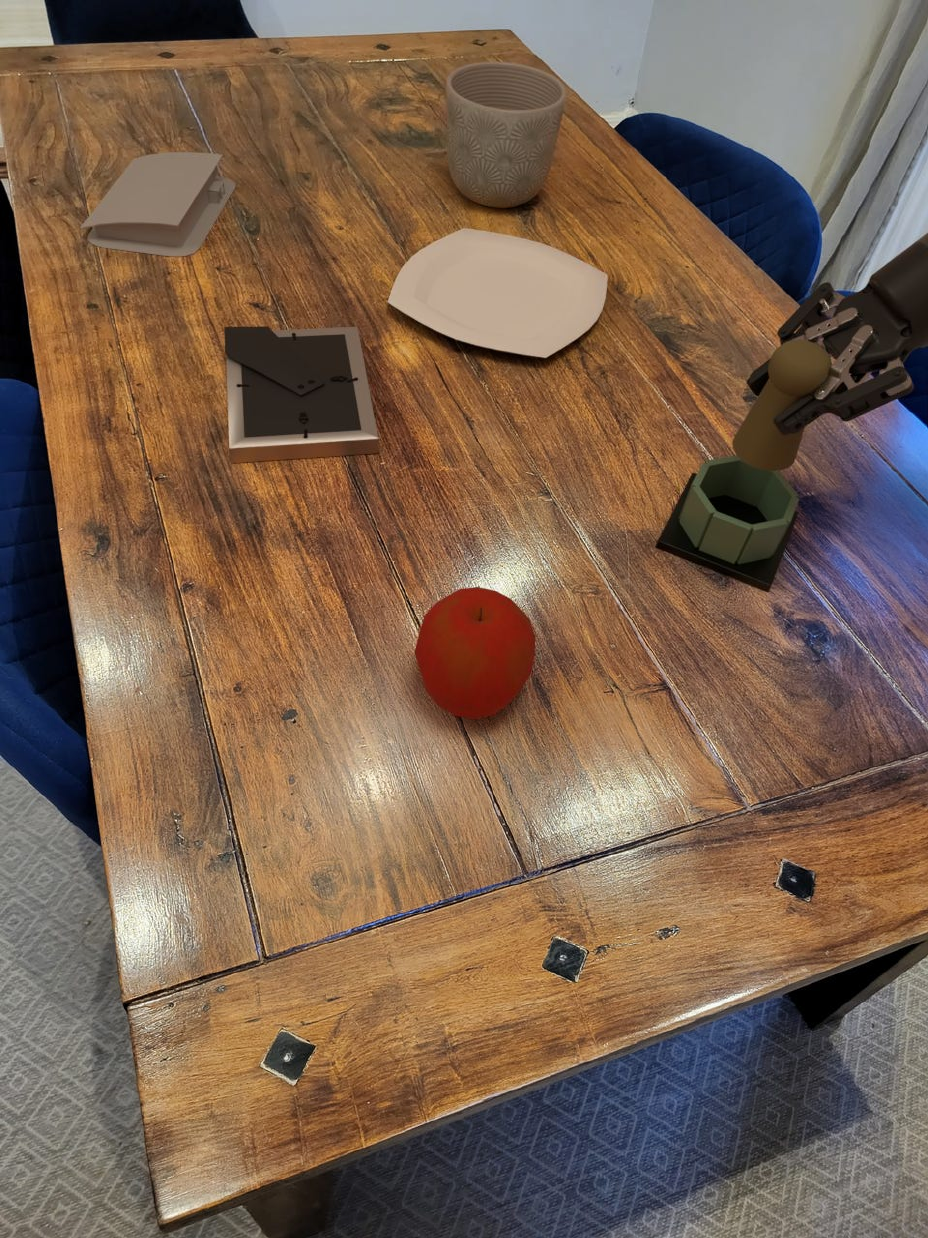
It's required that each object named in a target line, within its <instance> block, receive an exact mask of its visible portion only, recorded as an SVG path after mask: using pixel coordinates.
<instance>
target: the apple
mask: <svg viewBox="0 0 928 1238" xmlns="http://www.w3.org/2000/svg"><path fill="white" fill-rule="evenodd" d="M414 648H415V649H414V651H413V653H414V656H415V659H416V663H417V667H418V669H419V673H420V677H421V680H422V683H423V687H424V689H425V692H426V694H427V695H428V696H429V697H430V698H431V699H432V701H433V702H434V703H435V704H436V705H437V707H439V708H440V709H442V710H444V711H446V712H447V713H449V714H451V715H452V716H454V717H458V718H464V719H469V720H478V719H482V718H486V717H490V716H494V715H495V714H497V713H499V712H500V711H501V710H503V709H504V708H506V707H507V706H508V705H509V704H511V702H512V701H513V700H514V699H515V697H516V696H517V695H518V694H519V693H520V691H521V690H522V688H523V687H524V686H525V684H526V682H527V681H528V680H529V678H530V676H531V675H532V671H533V665H534V661H535V656H536V635H535V631H534V628H533V625H532V623H531V620H530V618H529V617H528V615H526V613H525V612H524V611H523V610H522V609H521V608H520V607H519V605H517V604H516V603H515V602H514V600H513V599H512V598H510V597H509V596H506V595H505V594H503V593H500V592H499V591H497V590H494V589H489V588H484V587H479V586H475V587H465V588H464V587H463V588H459V589H458V590H455V591H454V592H452V593H449V595H447V596H445V597H443V598H442V599H440V600H438V601H436V602H435V604H433V606H432V607H431V608H430V609H429V610H428V611H427V612H426V613H425V614H424V615H423V618H422V622H421V625H420V629H419V632H418V636H417V640H416V645H415V647H414Z"/></svg>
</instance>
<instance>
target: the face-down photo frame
mask: <svg viewBox="0 0 928 1238" xmlns="http://www.w3.org/2000/svg"><path fill="white" fill-rule="evenodd" d="M223 328H224V353H225V365H226V366H225V368H226V369H225V370H226V396H227V397H226V398H227V400H226V401H227V427H228V428H227V429H228V450H229V456H230V461H231V464H242V463H255V462H257V463H259V462H271V461H272V462H273V461H285V460H299V459H301V460H303V459H314V458H315V459H317V458H331V457H344V456H345V457H346V456H358V455H359V456H361V455H373V454H380V443H379V441H380V438H379V433H378V428H377V421H376V417H375V411H374V406H373V403H372V402H373V401H372V396H371V390H370V385H369V379H368V375H367V368H366V364H365V358H364V353H363V348H362V343H361V337H360V332H359V326H342V327H341V326H340V327H339V326H337V327H318V328H315V327H314V328H299V329H298V328H296V329H295V328H294V329H292V328H291V329H274V330H273V329H271V328H270V327H269V326H267V325H265V326H263V325H259V326H258V325H257V326H255V325H254V326H224V327H223Z"/></svg>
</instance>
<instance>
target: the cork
mask: <svg viewBox="0 0 928 1238" xmlns="http://www.w3.org/2000/svg"><path fill="white" fill-rule="evenodd" d="M770 358H771V359H770ZM770 358H769V359H770V362H769V366H768V373H769V377H770V378H769V379H768V381H767V383H766V384H765V386H764V388H763V389H762V391H761V393H760V394H759V396H757V398H756V400H755V401H754V403H753V405H752V406H751V408H750V409H749V411H748V413H747V414H746V416H745V418H744V420H743V421H742V423H741V425H740V426H739V428H738V430H737V431H736V433H735V435H734V436H733V439H732V440H731V441H732V442H731V445H732V450H733V452H734V453H735V455H737V456H738V457H739V458H740V459H741V460H742V461H743V462H745V463H747V464H748V465H750V466H752V467H755V468H758V469H760V470H766V471H780V472H782V471H784V470H786V469H788V468H790V467H791V466H792V465H793V464H794V463H795V460H796V458H797V455H798V451H799V448H800V445H801V442H802V438H803V435H804V431H805V428H806V427H804V428H803V429H801V430H800V431H799V432H797V433H794V434H791V433H790V434H788V435H783V434H782V433H781V432H780V431H779V430H778V428H777V427H776V425H775V424H774V423H773V420H774V418H775V417H776V416H778V415H779V414H780V413H782V412H783V411H785V410H786V409H787V408H789V407H790V406H792V405H793V404H794V403H796V402H797V401H798V400H800V399H801V398H803V397H804V396H805V395H807V394H808V393H810V394H811V395H812V396H813V395H814V392H815V391H816V389H817V388H818V387H819V386H820V384H821V383H823V382H824V380H825V379H826V377H827V376H828V375H829V370H830V367H831V366H832V364H833V363H832V362H833V361H832V357H830V355H829V354H828V352H827V351H826V350H825V349H823V348H822V347H821V346H819V345H817V344H815V343H813V342H810V341H805V340H791V341H787V342H785V343H784V344H782V345H781V344H780V345H779V346H778V347H777V348H776V349H775V350H774V351H773V352H772V355H771V357H770Z"/></svg>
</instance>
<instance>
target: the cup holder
mask: <svg viewBox="0 0 928 1238" xmlns="http://www.w3.org/2000/svg"><path fill="white" fill-rule="evenodd" d="M681 492H682V493H681V494H680V497H679V498H678V500H677V502H676V505H675V506H674V508H673V510H672V512H671V514H670V516H669V518H668V520H667V522H666V524H665V526H664V528H663V529H662V532H661V534H660V536H659V537H658V539H657V542H656V545H655V548H657V549H660V550H662V551H664V552H667V553H670V554H672V555H675V556H677V557H680V558H682V559H684V560H686V561H690V562H692V563H694V564H697V565H700V566H702V567H704V568H707V569H709V570H712V571H715V572H717V573H719V574H722V575H725V576H727V577H729V578H732V579H734V580H737V581H740V582H742V583H744V584H747V585H750V586H752V587H754V588H757V589H759V590H762V591H764V592H766V593H767V592H769V591H770V590H771V588H772V586H773V582H774V580H775V578H776V575H777V573H778V569H779V567H780V564H781V562H782V559H783V556H784V554H785V551H786V548H787V545H788V543H789V539H791V538H790V537H791V535H792V532H793V530H794V526H795V524H796V521H797V519H798V516H799V514H800V512H799V511H797V510H796V508H797V506H798V504H799V502H800V498H799V494H798V493H797V491H796V490H795V489H794V488H793V486H792V485H791V484H790V483H789V481H788V480H787V478H785V476H784V475H783V473H782V471H766V470H760V469H758V468H755V467H752V466H750V465H748V464H747V463H745V462H743V461H742V460H741V459H740V458H739V457H738V456H737V455H736V454H735V455H731V456H730V455H729V456H723V457H720V458H719V457H718V458H714V459H707V460H705V461H704V462H702V463H701V465H700V467H699V469H698V471H697V472H692V473H691V474H690V476H689V479H688V480H687V482H686V485H685V486H684V488H683V490H682V491H681Z"/></svg>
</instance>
